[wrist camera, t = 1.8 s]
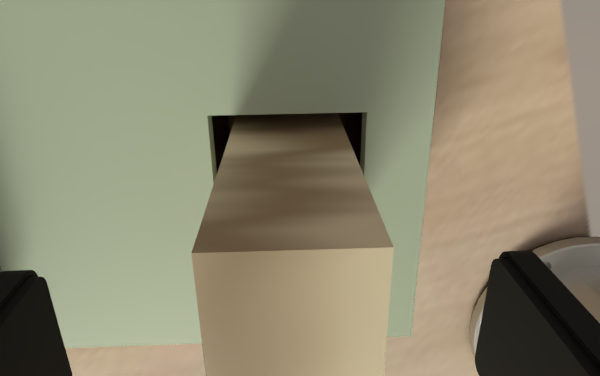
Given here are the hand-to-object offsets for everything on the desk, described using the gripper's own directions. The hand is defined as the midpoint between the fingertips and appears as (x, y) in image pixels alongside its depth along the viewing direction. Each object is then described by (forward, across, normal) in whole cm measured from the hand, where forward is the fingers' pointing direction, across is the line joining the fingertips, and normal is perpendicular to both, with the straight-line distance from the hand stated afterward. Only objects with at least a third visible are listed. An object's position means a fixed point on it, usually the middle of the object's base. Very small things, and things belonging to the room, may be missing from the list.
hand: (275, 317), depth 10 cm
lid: (+9, +7, 0) cm, 11 cm away
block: (+12, -1, 0) cm, 12 cm away
